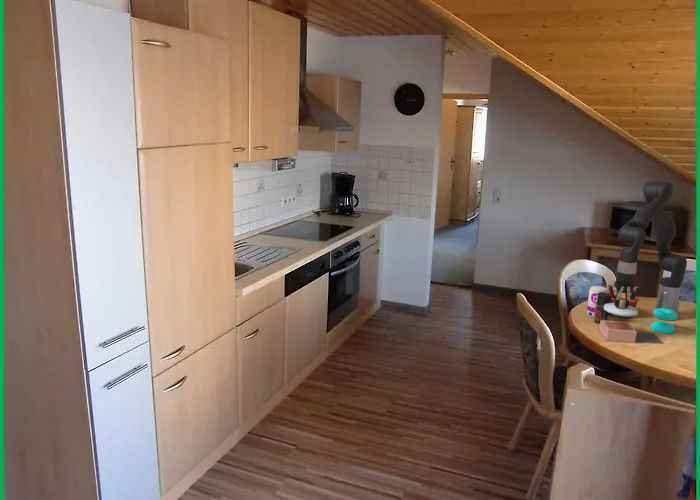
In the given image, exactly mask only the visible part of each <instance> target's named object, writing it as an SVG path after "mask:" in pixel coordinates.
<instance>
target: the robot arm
mask: <svg viewBox="0 0 700 500" xmlns="http://www.w3.org/2000/svg"><path fill="white" fill-rule="evenodd" d="M673 188H674V187H673V185H672V183H671V182H669V181H648V182H645V184H644V185H643V197H644V200H645V203H646V204H645V205H643V206H641V208H639V209H638V210H637V211H635V214H634V215H633V216H632V218H631V219H630V220H629V221H627V222H626V223H624V224H623V226H621V227H620V229H619V231H618V233H617V235H618V237H617V238H618V239H619V240H620V241H621V242H624V243H630V244H633V245H632V246H630V247H629V246H627V247H622V248H621V249H620V253H619V259H618V263H617V270H616V275H615V276H616V277H615V282H614V283H613V284H608V285H607V288H608V291H609V292H610V295H611V297H612V298H614V299H615V301H614V305H615V307H616V308H618V306H619V298H620V296H621V294H622V293H625V297H626V305H625V308H627V307H629V301H630V300H634V299H635V297H636V296H637V297H638V294H639V292H640V291H641V287H639V286H636V284H635V279H636V274H637V269H638V268H637V266H638V264H637V263H638V258H639V257H638V256H639V252H640V249H641V248H642V246H643V244H644V241H645V240H646V237H647V236H646V235H647V233H646V231H645V230H646V229H647V228H648V226H649V225H650V223H651V225H652V229H653V234H654V237H655V243H656V247H657V259H658V265H659V267H660V269H661V270H662V271H665V272H669V273H671V275H670V276H665V277H664V276H663V277H661V278H660V279H659V280H660V281H659V284H658V286H659V287H658V291H657V297H656V298H657V299H656V302H655V303H656V304H655V309H658V308H665V309H670V310H673V311H675V312H676V313H677V316H678V315H679V308H680V301H679V298H680V292H681V287H682V283H683V281H684V277H685V274H686V269H687V267H688V266H687V264H688V259H687V257H685V255H680V254H676V253H673V252H672V251H671V247H670V245H671V243H672V242H673V240H674V239H675V237H676V236H677V235H676V234H677V228H676V224H675V220H674V219H673V217H672V216H671V215H670V214H669V213H668V212H667V211H665V209H663V207H664V206H665V205H666V204H667V203H668V202H669V201H670V200H671V198H672V196H673V193H674V189H673ZM615 289H616V294H615V295H614V292H613V290H615ZM631 291H632V292H631ZM630 293H632V294H631V296H630ZM655 309H654V310H655ZM653 316H654V317H655V318H657V317H656V316H655V315H654V314H653ZM657 319H658V318H657ZM677 319H678V317H677V318H676V319H674V320H673V321H677ZM668 321H669V322H670V321H672V320H668Z"/></svg>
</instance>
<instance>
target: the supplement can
mask: <svg viewBox="0 0 700 500" xmlns="http://www.w3.org/2000/svg"><path fill="white" fill-rule="evenodd" d="M588 290H589V291H588V299H587V305H586V315H587V316H588V317H590V318H593V319H594V318H595V311H596V304H597V297H598V293H599V292H604V293H607V291H608V290H607V288H606V287H605V286H601V285H592V286H591V287H590V288H589V289H588Z"/></svg>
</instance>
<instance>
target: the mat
mask: <svg viewBox="0 0 700 500" xmlns="http://www.w3.org/2000/svg"><path fill="white" fill-rule="evenodd" d="M636 332H637V333H636V339H635V343H647V344H658V345H661V344H662V345H665V343H664V342H663V341H662V340H661V339H660V338H659V337H658V336H657V335H656V334H655V333H654V332H653V333H651V332H638V331H636Z"/></svg>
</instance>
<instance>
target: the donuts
mask: <svg viewBox="0 0 700 500" xmlns="http://www.w3.org/2000/svg"><path fill="white" fill-rule="evenodd" d="M654 315H655V316H656V317H657V319H659V320H663V321H654V322H652V323H651V324H650V327H651V329H652V330H653V331H655V332H657V333H661V334H673V333H675V331H676V328H675V327H674V325H673V324H672V323H669V322H666V321H669V320H671V321H675V320H674V319H676V318H677V319H678V315H677V313H676V312H675V311H673V310H670V309H665V308H658V309H654V310H653V316H654ZM655 316H654V317H655ZM656 317H655V318H656Z"/></svg>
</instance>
